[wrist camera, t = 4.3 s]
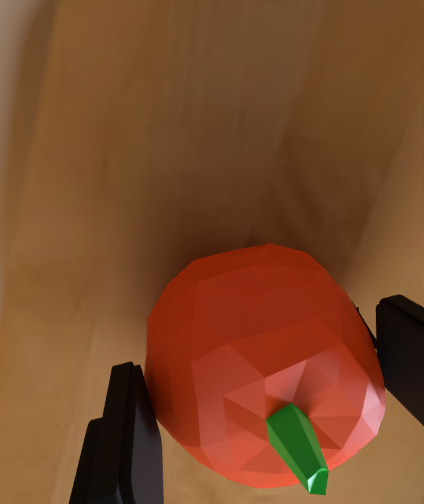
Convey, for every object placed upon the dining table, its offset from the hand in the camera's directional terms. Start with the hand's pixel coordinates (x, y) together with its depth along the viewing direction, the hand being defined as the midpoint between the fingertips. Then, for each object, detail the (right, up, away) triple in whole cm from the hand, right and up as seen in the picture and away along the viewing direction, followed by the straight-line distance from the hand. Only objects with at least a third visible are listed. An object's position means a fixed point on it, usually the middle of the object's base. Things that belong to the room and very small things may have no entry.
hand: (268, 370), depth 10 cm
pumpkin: (-1, +1, +3) cm, 3 cm away
